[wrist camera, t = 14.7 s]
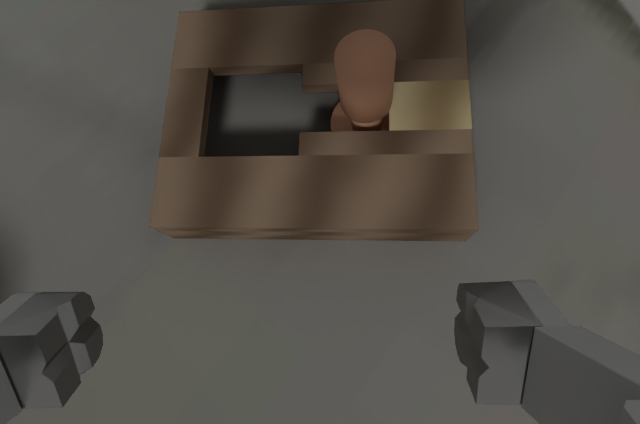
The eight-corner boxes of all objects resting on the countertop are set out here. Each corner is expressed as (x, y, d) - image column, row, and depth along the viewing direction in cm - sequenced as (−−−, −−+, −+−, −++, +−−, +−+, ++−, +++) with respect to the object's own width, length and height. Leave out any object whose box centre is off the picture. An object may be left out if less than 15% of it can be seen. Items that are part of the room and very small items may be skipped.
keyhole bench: (173, 237, 31) (149, 226, 27) (197, 42, 35) (179, 11, 31) (465, 241, 28) (478, 229, 25) (454, 30, 32) (463, -4, 29)
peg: (331, 164, 31) (315, 100, 22) (333, 101, 32) (318, 17, 23) (403, 163, 30) (415, 97, 21) (402, 99, 31) (412, 12, 23)
